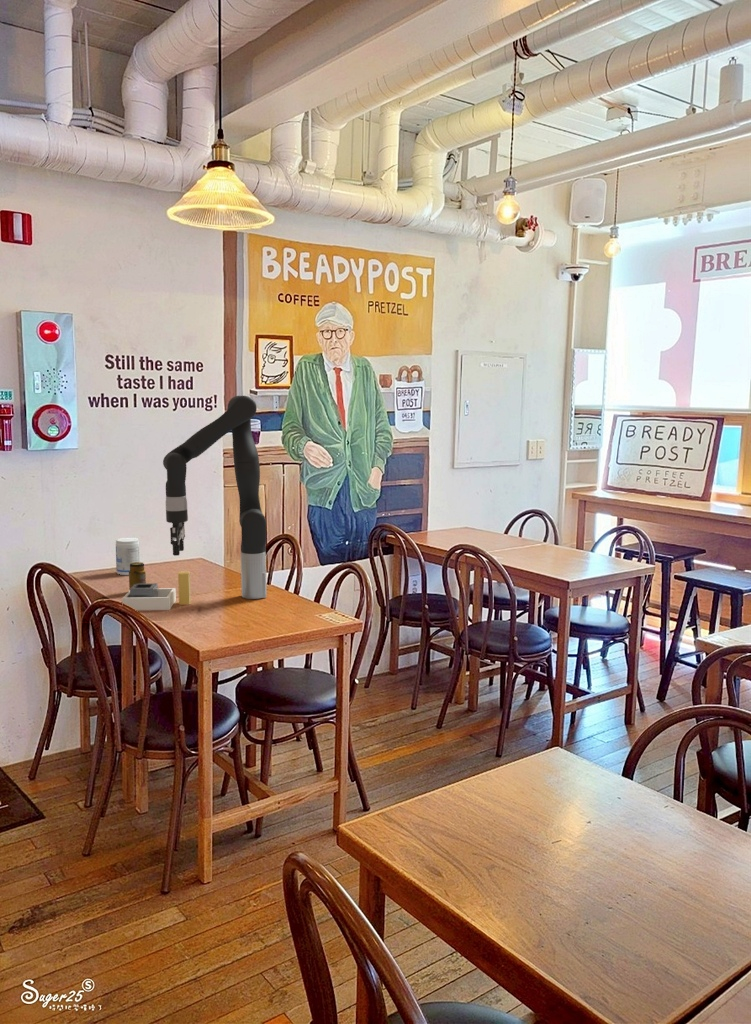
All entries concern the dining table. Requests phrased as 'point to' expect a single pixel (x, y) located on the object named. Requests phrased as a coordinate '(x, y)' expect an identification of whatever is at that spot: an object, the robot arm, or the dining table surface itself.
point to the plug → (184, 587)
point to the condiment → (136, 574)
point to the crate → (152, 600)
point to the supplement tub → (126, 554)
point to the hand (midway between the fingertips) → (178, 552)
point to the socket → (144, 590)
